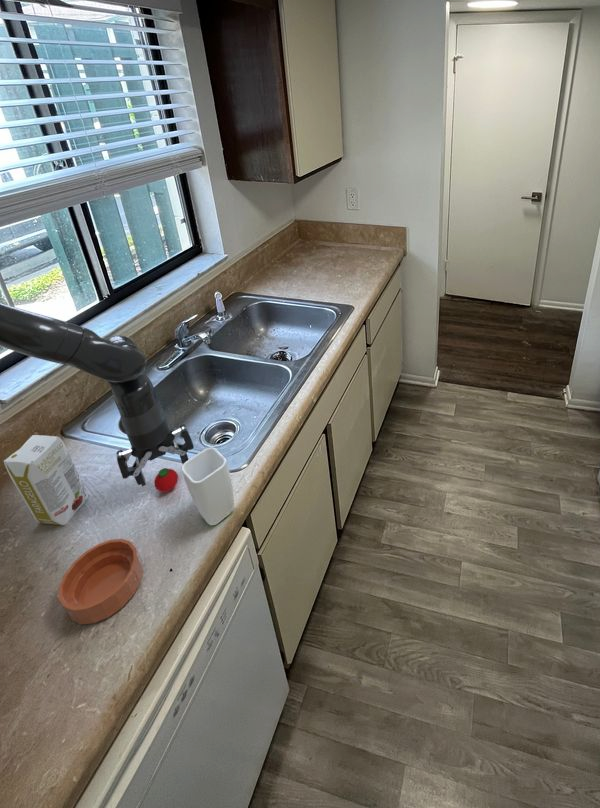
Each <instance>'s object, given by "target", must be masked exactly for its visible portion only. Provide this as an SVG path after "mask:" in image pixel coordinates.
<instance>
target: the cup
mask: <svg viewBox="0 0 600 808" xmlns="http://www.w3.org/2000/svg"><path fill="white" fill-rule="evenodd" d="M188 459H189V460H188V461H186V462H185V463H184V464H182V465H181V467H180V470H181V473H182V476H183V479H184V482H185V486H186V488H187V490H188V492H189V494H190V497H191V499H192V501H193V503H194V505H195V507H196V509H197V510H198V512H199V514H200V516H201V517H202V518H203V519H204V521H205V522H206V523H207V524H208V525H209V526H216V525H218V524H219V523H220V522H221V521H222V520H224V519H225V518H227V517H228V516H229V515H230V514H232V513H233V512H234V510H235V497H234V496H235V495H234V488H233V487H234V486H233V482H232V477H231V473H230V470H229V469H230V468H229V466H228V461H227V459H226V457H225V456H224V455H222V454H221V452H220V451H219V450H218V449H217V448H215V447H212V446H211V447H207V448H205V449H203V450H201V451H200V452H198V453H196V454H195V455H194V456H192V457H191V458H188Z"/></svg>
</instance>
